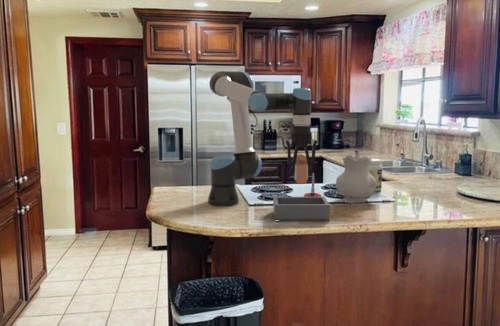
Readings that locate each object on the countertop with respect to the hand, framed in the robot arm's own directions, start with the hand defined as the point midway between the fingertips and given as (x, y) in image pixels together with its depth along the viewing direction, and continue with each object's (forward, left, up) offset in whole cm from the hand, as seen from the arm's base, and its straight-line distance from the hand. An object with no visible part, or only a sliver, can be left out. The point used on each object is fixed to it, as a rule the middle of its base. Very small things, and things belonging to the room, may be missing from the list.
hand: (301, 179), depth 184 cm
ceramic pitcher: (+30, +29, -17) cm, 45 cm away
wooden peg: (0, 0, -1) cm, 1 cm away
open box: (0, 0, -17) cm, 17 cm away
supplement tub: (+44, +53, -17) cm, 71 cm away
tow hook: (+10, +38, -17) cm, 43 cm away
